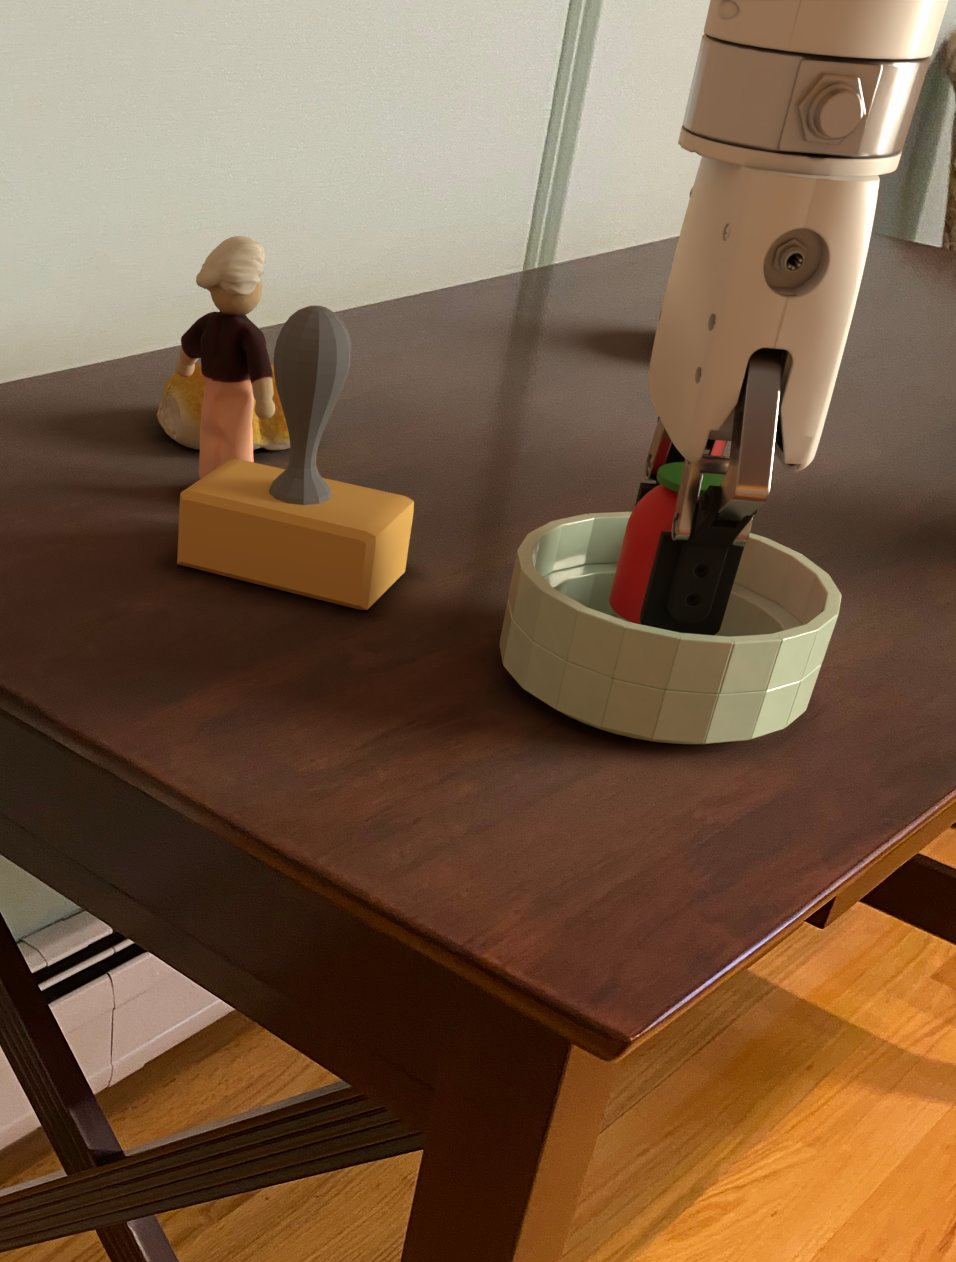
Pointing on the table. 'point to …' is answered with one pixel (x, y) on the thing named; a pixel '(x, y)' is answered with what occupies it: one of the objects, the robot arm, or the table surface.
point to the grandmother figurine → (229, 354)
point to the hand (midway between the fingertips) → (667, 599)
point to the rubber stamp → (299, 493)
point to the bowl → (664, 640)
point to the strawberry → (647, 539)
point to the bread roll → (185, 409)
